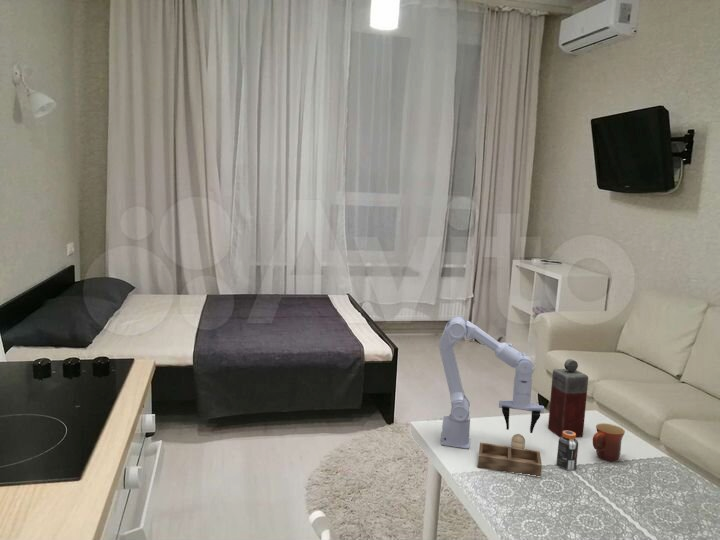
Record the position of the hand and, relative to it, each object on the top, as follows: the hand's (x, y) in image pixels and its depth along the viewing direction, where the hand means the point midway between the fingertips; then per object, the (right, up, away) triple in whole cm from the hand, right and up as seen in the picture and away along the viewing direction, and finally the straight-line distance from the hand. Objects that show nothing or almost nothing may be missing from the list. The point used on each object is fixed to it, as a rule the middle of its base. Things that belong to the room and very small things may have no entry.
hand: (519, 430), depth 179 cm
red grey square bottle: (+22, -6, +19) cm, 30 cm away
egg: (0, -7, +1) cm, 7 cm away
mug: (+28, -9, -2) cm, 29 cm away
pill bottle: (+13, -9, -9) cm, 18 cm away
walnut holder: (-6, -8, -10) cm, 14 cm away
